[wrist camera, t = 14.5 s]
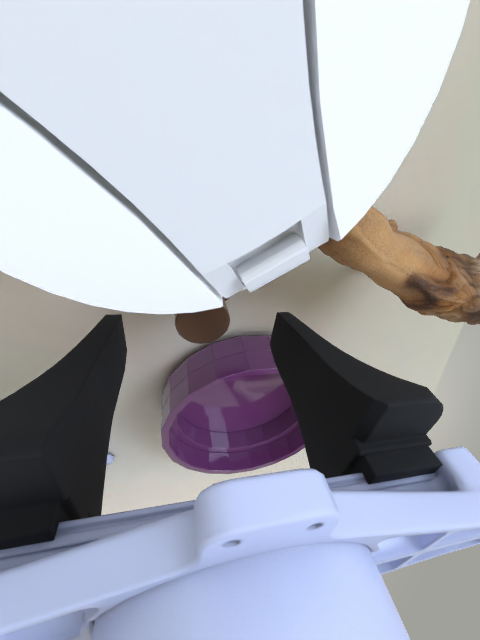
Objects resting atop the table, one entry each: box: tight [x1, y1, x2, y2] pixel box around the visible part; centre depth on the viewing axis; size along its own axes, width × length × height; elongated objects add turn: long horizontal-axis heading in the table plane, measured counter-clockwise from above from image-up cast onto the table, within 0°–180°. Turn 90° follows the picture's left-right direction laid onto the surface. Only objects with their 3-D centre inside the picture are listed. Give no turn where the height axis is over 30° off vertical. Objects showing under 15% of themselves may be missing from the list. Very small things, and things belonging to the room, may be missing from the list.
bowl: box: [161, 335, 305, 474], centre depth 26 cm, size 15×15×4 cm
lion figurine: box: [318, 206, 480, 325], centre depth 16 cm, size 15×5×9 cm, turn 72°
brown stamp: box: [175, 297, 230, 344], centre depth 16 cm, size 6×6×7 cm
